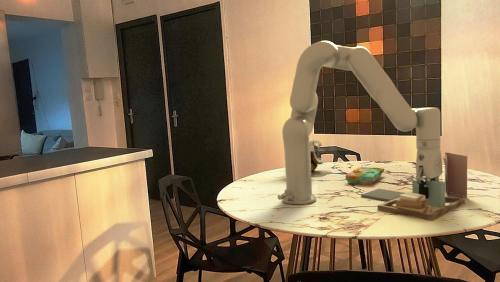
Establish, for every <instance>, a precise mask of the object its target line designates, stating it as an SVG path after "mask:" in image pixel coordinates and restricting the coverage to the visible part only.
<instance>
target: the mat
mask: <svg viewBox="0 0 500 282" xmlns="http://www.w3.org/2000/svg"><path fill="white" fill-rule="evenodd" d="M405 193H406V192H404V191H396V190H389V189H383V188H377V189H373V190H371V191H368V192H365V193H363V194H361V195H360V197H361V198H366V199H372V200H377V201H383V202H387V201H390V200H392V199H395V198H398V197H400V195H401V194H405Z"/></svg>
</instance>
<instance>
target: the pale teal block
mask: <svg viewBox="0 0 500 282" xmlns="http://www.w3.org/2000/svg"><path fill="white" fill-rule="evenodd" d="M422 180H423V179H422ZM411 182H412V185H411V187H412V191H411V192H412V193H415V194H419V186H418V183H417V180H416V178H415V179H412V181H411ZM424 182H425V180H424ZM427 187H429V198H428V205H430V206H432V207H433V206H434V207H439V208H443V207H445V206H446V201H445V196H446V193H445V181H440V180H439V181H433V180H428V185H427Z"/></svg>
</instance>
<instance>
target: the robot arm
mask: <svg viewBox="0 0 500 282" xmlns="http://www.w3.org/2000/svg"><path fill="white" fill-rule="evenodd" d="M323 67H325V68H331V69H337V70H342V71H347V72H348V71H349V72H350V71H351V72H352V74H353V75H354V76H355V77H356V78H357V80H358V81H359V82H360V84H361V85H362V86H363V88H364V90H366V92H367V93H368V95H369V96H370V97H371V98H372V100H373V101H375V102H376V103H377V104H378V106H379V107H380V109H381V110H382V111H383V113H385V116H387V118H388V119H389V121H390V122H391V123H392V124H393V126H394V128H395V129H397V130H398V131H400V132H405V133H406V132H410V131H412V130H414V129H415V133H416V137H415V140H416V143H415V145H416V147H415V149H416V160H415V161H416V162H415V173H416V176H415V179H416V180H417V183H418V186H419V194H420V195H425V199H428V198H429V187H427V185H428V180H433V181H440V180H439V178H440V176H442V175H443V157H442V153H441V152H442V151H441V110H440V109H439V108H438V107H420V108H412V107H411V105H410V104H409V103H408V102H407V100H405V98H404V97H403V96H402V94H401V93H400V91H399V89H397V87H396V85H395V83H394V82H393V81H392V79H391V78H390V77H389V75H388V74H387V73H386V72H385V70H384V68H383V67H382V66H381V65H380V63H379V62H378V61H377V59H376V58H375V57H374V56H373V54H372V53H371V52H370V51H369V49H367V47H364V46H360V45H359V46H356V47H350V46H343V45H337V44H334V43H333V42H331V41H329V40H321V41H317V42H315V43H312V44H311V45H309V46H307V47H306V48H305V49H304V50H303V51H302V53H301V54H300V56H299V58H298V61H297V65H296V69H295V75H294V77H293V83H292V88H291V93H290V96H289V97H290V98H289V104H290V108H291V113H290V118H288V119H287V120H285V122H284V124H283V126H282V131H281V132H282V139H283V140H282V141H283V148H284V149H283V150H284V163H285V164H284V165H285V167H284V168H285V184H286V185H285V186H286V187H285V188H286V189H284V192H283V193H280V194H278V195H277V199H278V200H279V201H280V200H281V201H283V202H284V203H286V204H290V205H306V204H307V205H308V204H312V203H314V202H316V201H317V196H316V195H315V194H313V189H312V188H313V186H312V177H311V158H310V143H309V142H310V136H311V134H312V133H313V129H314V124H315V119H316V115H317V111H318V105H319V97H318V94H317V92H316V91H317V86H318V83H319V82H318V81H319V76H320V72H321V69H322V68H323ZM422 179H423V180H422ZM424 180H425V182H424Z"/></svg>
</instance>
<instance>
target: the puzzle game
mask: <svg viewBox="0 0 500 282" xmlns="http://www.w3.org/2000/svg"><path fill="white" fill-rule="evenodd" d="M384 172H385V168H384V167H383V168H382V167H366V166H365V167H364V166H360V167H357V168H355V169H354V170H351V171H350V172H349V173H347V174H345V180H346V181H347V183H349V184H352V183H355V184H354V185H367V184H368V186H369V185H370V186H371V185H373V184H374V183H375V182H377V180H379V179H380V178H381V177H382V174H383V173H384Z"/></svg>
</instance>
